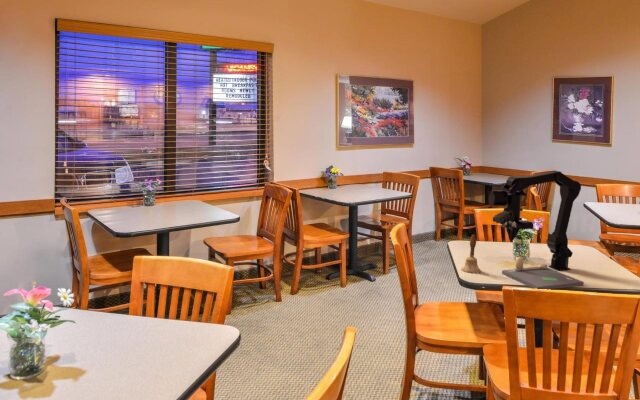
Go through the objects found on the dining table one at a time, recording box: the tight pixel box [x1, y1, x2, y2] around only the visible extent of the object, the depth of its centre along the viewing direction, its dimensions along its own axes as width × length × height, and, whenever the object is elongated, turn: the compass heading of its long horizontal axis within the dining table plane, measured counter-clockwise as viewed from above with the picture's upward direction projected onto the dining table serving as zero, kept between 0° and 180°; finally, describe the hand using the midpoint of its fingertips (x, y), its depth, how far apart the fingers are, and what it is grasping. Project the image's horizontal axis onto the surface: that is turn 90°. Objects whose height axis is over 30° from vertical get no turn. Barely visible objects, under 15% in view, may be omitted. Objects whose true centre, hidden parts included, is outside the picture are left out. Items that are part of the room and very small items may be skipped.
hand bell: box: [460, 234, 482, 274], centre depth 221 cm, size 8×8×16 cm
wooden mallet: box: [513, 256, 548, 270], centre depth 219 cm, size 16×4×5 cm, turn 107°
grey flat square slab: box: [501, 267, 585, 290], centre depth 211 cm, size 22×22×2 cm
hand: (511, 241), depth 222 cm, fingers closed
